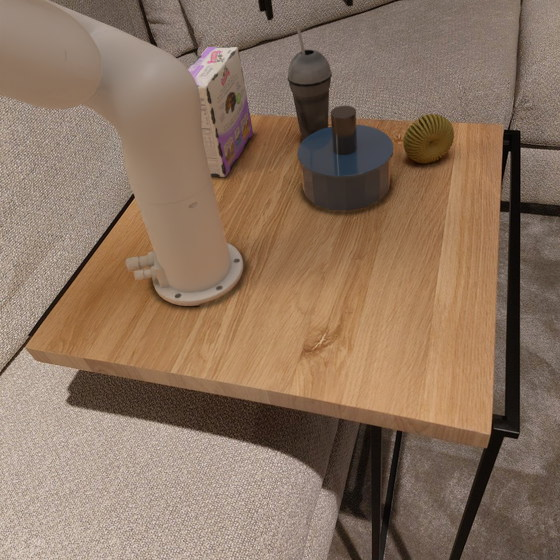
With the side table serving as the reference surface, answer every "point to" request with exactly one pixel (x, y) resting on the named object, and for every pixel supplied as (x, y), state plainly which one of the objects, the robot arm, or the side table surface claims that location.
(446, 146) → the sculpture
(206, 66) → the candy box
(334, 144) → the tin lid
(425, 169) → the side table surface
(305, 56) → the beverage cup
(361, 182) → the tin
